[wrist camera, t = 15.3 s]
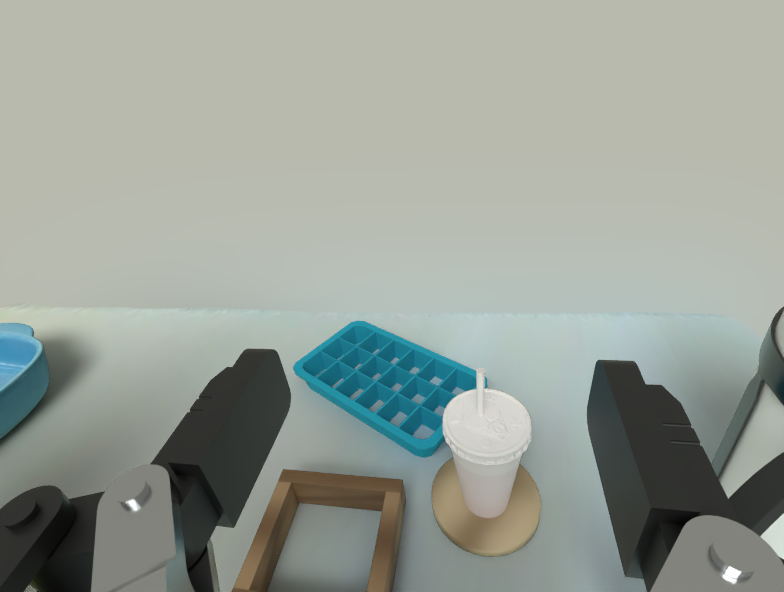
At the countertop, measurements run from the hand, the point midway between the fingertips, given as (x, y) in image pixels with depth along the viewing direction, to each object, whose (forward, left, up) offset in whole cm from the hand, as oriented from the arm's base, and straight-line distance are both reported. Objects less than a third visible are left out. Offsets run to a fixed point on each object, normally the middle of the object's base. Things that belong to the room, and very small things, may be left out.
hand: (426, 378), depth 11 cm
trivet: (-1, +14, -28) cm, 31 cm away
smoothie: (-1, +14, -27) cm, 31 cm away
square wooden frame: (-12, +6, -28) cm, 31 cm away
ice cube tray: (-13, +25, -29) cm, 40 cm away
